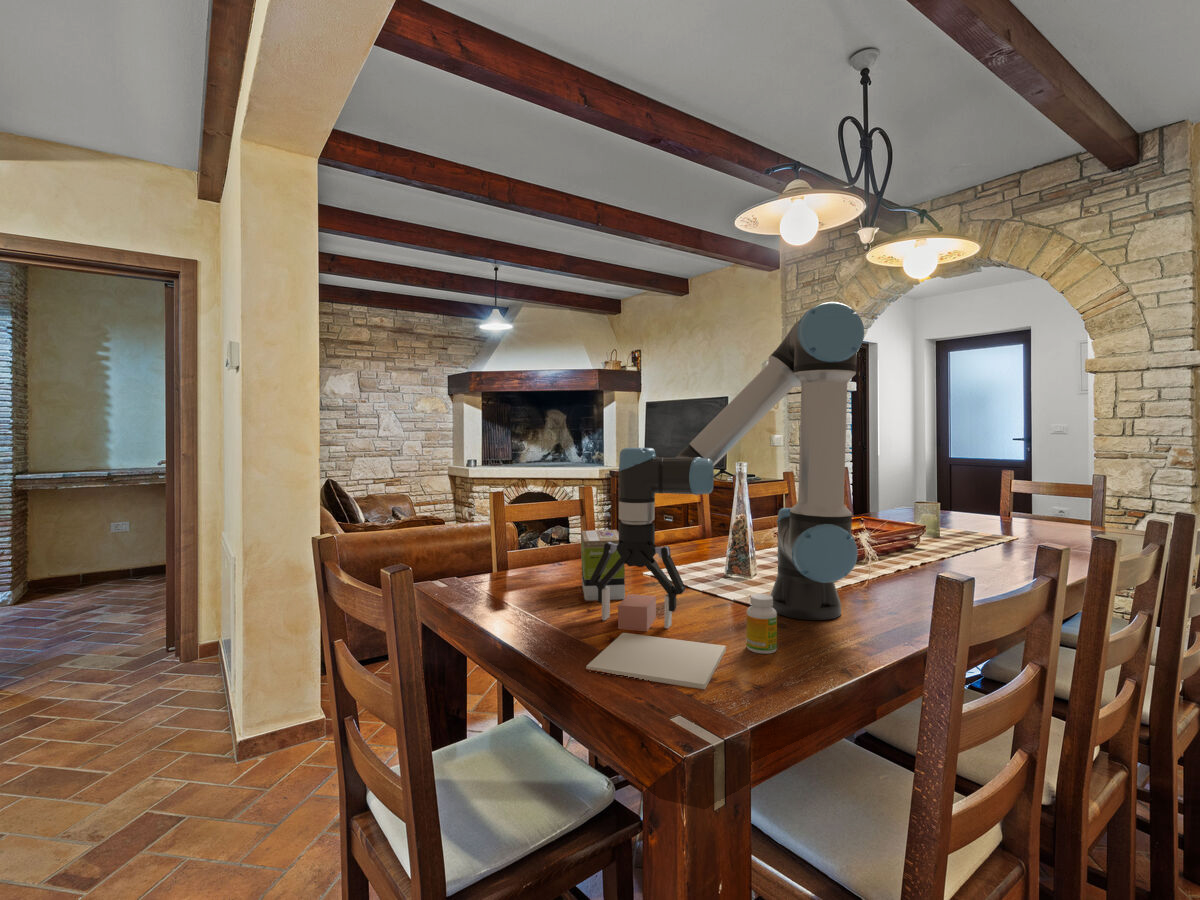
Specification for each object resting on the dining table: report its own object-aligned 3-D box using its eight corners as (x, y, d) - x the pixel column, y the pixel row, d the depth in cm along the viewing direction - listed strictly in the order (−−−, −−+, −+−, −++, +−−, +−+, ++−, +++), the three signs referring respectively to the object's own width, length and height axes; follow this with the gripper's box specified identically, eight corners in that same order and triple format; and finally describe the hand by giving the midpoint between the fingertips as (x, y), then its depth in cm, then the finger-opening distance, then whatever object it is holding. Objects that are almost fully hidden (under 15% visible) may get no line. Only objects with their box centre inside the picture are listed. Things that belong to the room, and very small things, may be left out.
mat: (725, 650, 108) (725, 645, 108) (704, 689, 92) (705, 684, 92) (622, 636, 116) (622, 632, 116) (586, 670, 99) (586, 666, 99)
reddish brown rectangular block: (655, 619, 128) (655, 595, 128) (646, 632, 119) (646, 607, 119) (628, 616, 129) (628, 593, 129) (618, 629, 121) (617, 605, 121)
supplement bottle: (772, 656, 105) (772, 602, 105) (742, 651, 108) (742, 598, 108) (780, 647, 110) (780, 595, 110) (751, 642, 113) (751, 591, 112)
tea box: (580, 585, 156) (580, 529, 156) (618, 584, 157) (618, 528, 156) (583, 601, 141) (583, 539, 141) (625, 600, 142) (625, 538, 141)
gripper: (700, 522, 123) (699, 624, 123) (588, 516, 132) (588, 610, 132) (691, 527, 116) (690, 635, 116) (574, 520, 125) (574, 620, 126)
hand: (636, 622), depth 124 cm, fingers open, 13 cm apart
